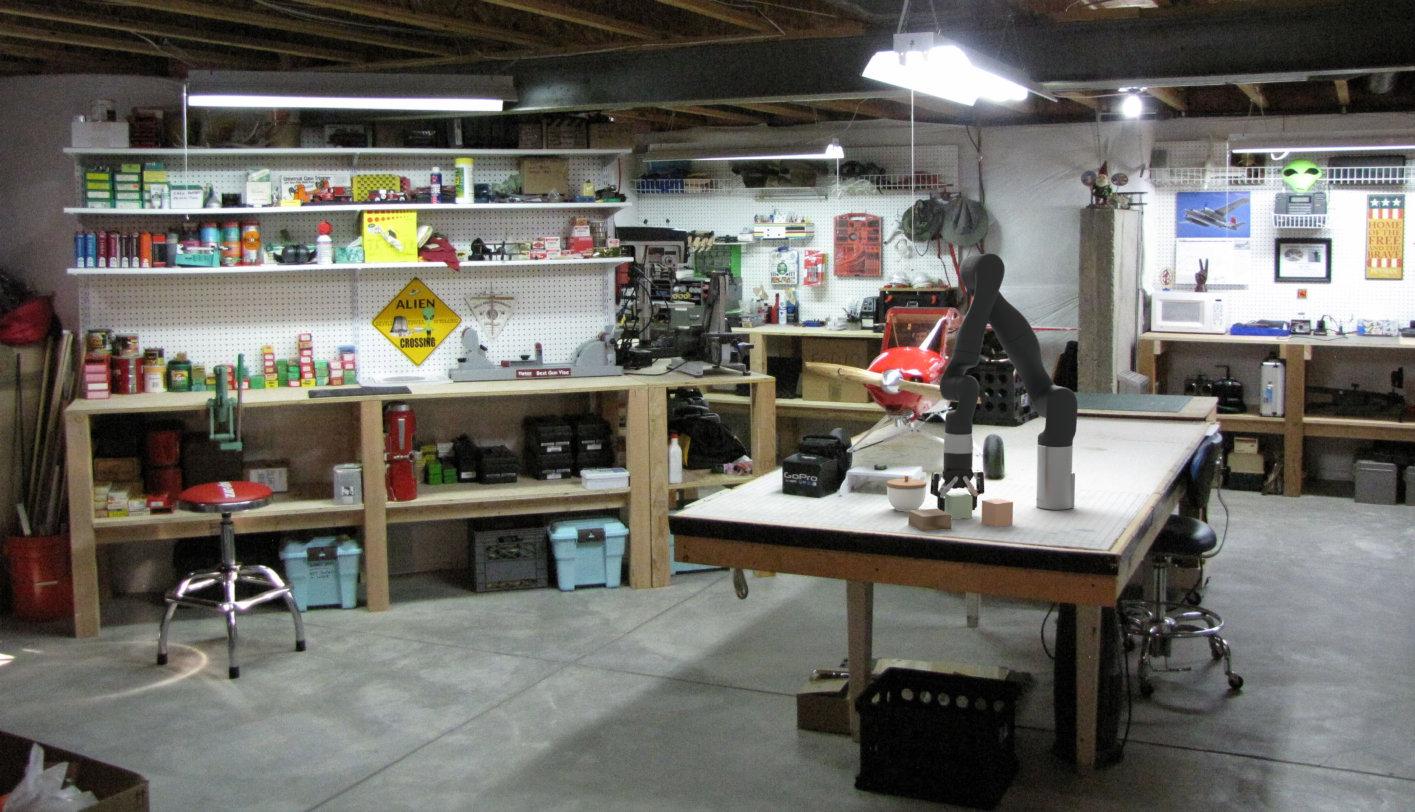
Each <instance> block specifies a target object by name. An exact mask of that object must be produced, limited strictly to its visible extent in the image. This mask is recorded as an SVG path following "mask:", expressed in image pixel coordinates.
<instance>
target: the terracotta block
mask: <svg viewBox="0 0 1415 812" xmlns="http://www.w3.org/2000/svg"><path fill="white" fill-rule="evenodd" d="M1013 514H1014V502H1013V501H1010V500H1006V499H1002V498H991V499H983V500H981V524H983V523H984V525H987V524H988V525H987V526H990V525H991V527H994V526H1000V527H1005V526H1004V525H1007V526H1013V525H1012V524H1014V522H1013V521H1014V520H1013V518H1014V515H1013Z"/></svg>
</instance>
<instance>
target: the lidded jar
mask: <svg viewBox="0 0 1415 812" xmlns="http://www.w3.org/2000/svg"><path fill="white" fill-rule="evenodd" d="M886 492H887V493H886V494H887V500H888V502H889V503H890V505H891V506H892V508H894V510H895V509H896V510H898V511H897V512H900V511H904V513H909V511H910V510H919V509H920V508H921V507H922V505H923V504H924V502H925V499H926V495H927V494H926V493H927V481H925V480H922V479H917V478H909V475H904V478H893V479H889V480H886ZM896 510H895V511H896Z"/></svg>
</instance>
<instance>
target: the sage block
mask: <svg viewBox="0 0 1415 812" xmlns="http://www.w3.org/2000/svg"><path fill="white" fill-rule="evenodd" d="M944 498H945V511H944V512H946V513H949V514H951V518H952V519H951V520H958V519H957V518H966V519H973V510H972V496H971V494H970V493H967V492H965V491H962V492H961V491H959V492H947V493H946V495H945V496H944Z"/></svg>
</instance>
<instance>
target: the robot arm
mask: <svg viewBox="0 0 1415 812" xmlns="http://www.w3.org/2000/svg"><path fill="white" fill-rule="evenodd" d="M1005 268H1006V267H1005V264H1004V261H1003V259H1002V258H1001V257H1000V256H998V255H997V254H996V253H981V254H974V255H970V256H968V257H966V258H964V259H963V260H962V261H961V263H960V266H959V277H960V280H961V282H962V284H963V286H964V287H965V288H966V290H967V292H968V293H969V295H970V296H971V297H972V301H971V303H970V306H969V308H968V311H967V312H966V314H965V316H964V318H963V320H962V322H961V323H960V326H959V328H958V329H957V333H956V336H955V340H954V346H953V350H952V355H951V358H950V360H949V361H948V363H947V366H946V368H945V369H944V372H943V374H942V375H941V378H940V382H939V392H940V394H941V396H942V398H943V399H944V400H947V401H951V402H958V403H957V406H956V409H953V410H949V411H947V412H946V414H945V420H944V422H945V423H944V439H943V467H942V468H943V469H942V472H936V471H935V472H934V471H933V472H931V478H930V489H929V490H930V495H932V496H934V497H936V498H937V499H936V500H937V501H936V503H937V505H936V507H937V508H936V509H939V510H942V511H945V495H946V493H950V490H951V489H954V490H955V489H966V490H967V491H968V494H969V495H971V496H972V511H976V509H977V507H978V496H980V495H984V494H985V473H984V471H981V470H979V469H977V470H976V471H973V462H974V461H973V456H974V455H973V451H974V438H973V418H974V414H975V411H976V408H977V404H978V401H979V397H980V393H981V392H980V391H981V390H980V384H979V381H978V380H977V379H976V377H974V376H972V375H969V374H968V375H966V374H965V373H966V371H967V370H969V369H971V368H974V367H977V366H978V364H979V361H980V357H981V351H982V347H983V342H984V337H985V333H986V329H987V327H988V324H989V325H990V328H991V329H992V331H993V332H994V334H995V336H996V338H997V340H998V342H999V344H1000V346H1001V347H1002V350H1003V351H1004V353H1005V354H1006V356H1007V358H1008V359H1009V360H1010V362H1011V364H1012V366H1013V368H1014V369H1015V371H1016V373H1017V374H1018V376H1019V378H1020V380H1021V381H1022V384H1023V385H1024V388H1025V390H1026V393H1027V395H1028V397H1029V400H1030V402H1031V404H1032V407H1033V409H1034V410H1035V412H1036V413H1037V414H1038V415H1039V416H1040V417H1043V418H1044V419H1045V425H1044V430H1043V431H1042V432H1040V433H1039V434H1038V435H1037V455H1036V456H1037V458H1036V460H1037V461H1036V463H1037V464H1036V499H1035V500H1036V503H1035V504H1036V505H1035V507H1037V508H1039V509H1043V510H1044V509H1045V510H1055V511H1056V510H1057V511H1059V510H1060V511H1061V510H1068V509H1072V508H1073V509H1074V508H1075V502H1076V501H1075V500H1076V497H1075V494H1076V492H1075V491H1076V474H1075V472H1073V448H1074V447H1073V445H1074V442H1073V441H1074V438H1075V435H1076V434H1077V424H1078V423H1077V422H1078V400H1077V396H1076V394H1075V392H1074V391H1073V390H1072V389H1070V388H1067V387H1065V386H1064V387H1063V386H1059V385H1056V383H1054V382H1053V379H1052V378H1051V377H1050V375H1049V373H1048V371H1047V370H1046V368H1045V365H1044V363H1043V357H1042V349H1041V344H1040V341H1039V338H1038V336H1037V334H1036V333H1035V330H1034V329H1033V327H1032V325H1031V323H1030V322H1029V321H1028V319H1027V318H1026V316H1024V315H1023V313H1022V312H1021V311H1020V310H1018V308H1016V307H1014V305H1012V304H1011V303H1010V301H1008V300H1007V299H1006V298H1005V297H1004V296H1003V294H1002V293H1001V292H1000V290H1001V286H1002V284H1003V280H1004V277H1005V272H1006V269H1005ZM973 478H974V479H975V480H976V481H975V482H976V483H975V484H976V486H974V485H973V484H972V482H971V481H972V479H973ZM942 479H943V481H944V482H943V483H942V484H941V486H940V485H939V484H940V481H942ZM939 486H940V488H939ZM975 487H976V488H975Z"/></svg>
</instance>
